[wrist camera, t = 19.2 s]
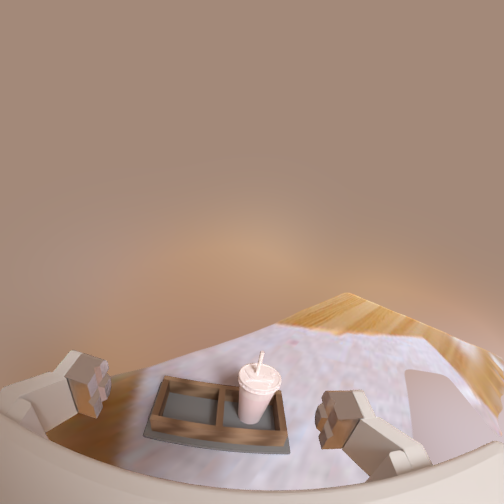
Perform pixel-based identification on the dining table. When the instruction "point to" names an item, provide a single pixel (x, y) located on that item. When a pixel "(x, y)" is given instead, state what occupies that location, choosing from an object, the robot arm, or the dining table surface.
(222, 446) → the mat
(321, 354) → the dining table surface
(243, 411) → the smoothie
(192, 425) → the tray
